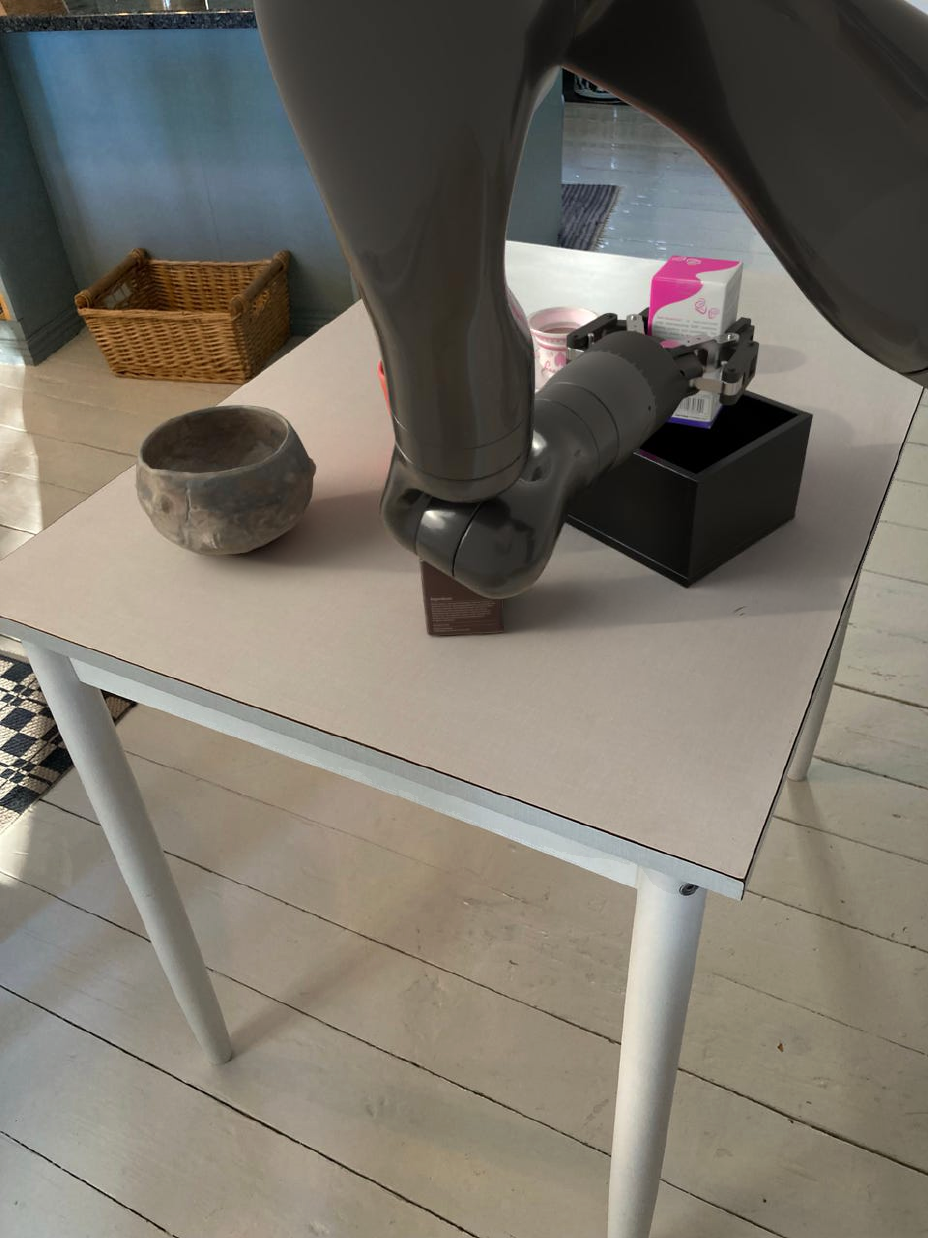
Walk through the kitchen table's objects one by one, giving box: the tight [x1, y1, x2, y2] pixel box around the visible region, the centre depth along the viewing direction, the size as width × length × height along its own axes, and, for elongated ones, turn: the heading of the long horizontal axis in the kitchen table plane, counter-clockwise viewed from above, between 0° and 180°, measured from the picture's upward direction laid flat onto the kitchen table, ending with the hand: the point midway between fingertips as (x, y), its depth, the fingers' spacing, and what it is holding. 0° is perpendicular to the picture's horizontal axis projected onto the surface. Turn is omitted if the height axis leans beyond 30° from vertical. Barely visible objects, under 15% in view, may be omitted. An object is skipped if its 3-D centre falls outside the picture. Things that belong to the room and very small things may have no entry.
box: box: [418, 557, 504, 636], centre depth 77 cm, size 6×6×7 cm
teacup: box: [526, 306, 602, 393], centre depth 110 cm, size 12×12×6 cm
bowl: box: [134, 404, 317, 556], centre depth 87 cm, size 14×15×10 cm
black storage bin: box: [565, 389, 814, 589], centre depth 85 cm, size 15×15×10 cm
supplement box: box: [647, 254, 744, 429], centre depth 78 cm, size 6×6×12 cm
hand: (703, 321), depth 79 cm, fingers closed on supplement box, 6 cm apart
